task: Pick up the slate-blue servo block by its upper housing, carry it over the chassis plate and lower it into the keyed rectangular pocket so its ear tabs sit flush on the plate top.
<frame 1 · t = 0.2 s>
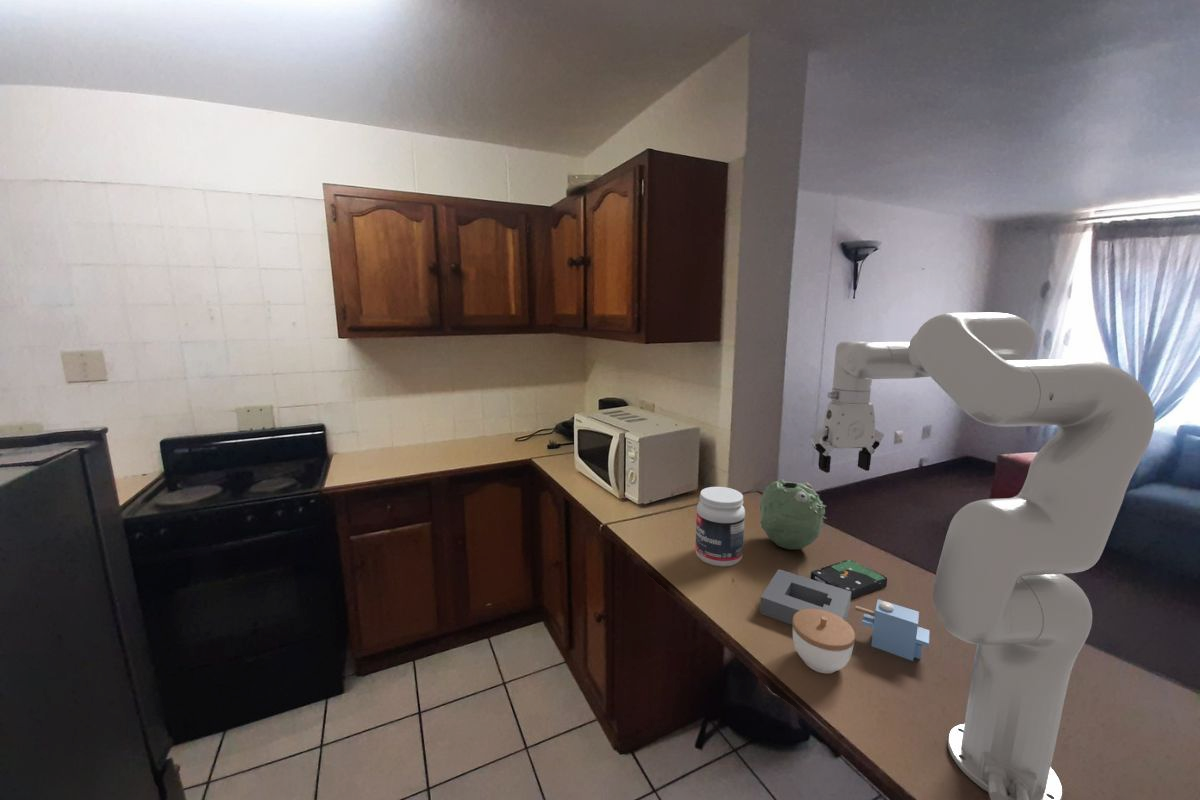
hand: (843, 469, 105), 31 cm above the worktop, tool pointing down, fingers open, 9 cm apart
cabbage: (787, 547, 132), on the worktop
disk drive: (847, 584, 114), on the worktop
servo: (892, 646, 92), on the worktop
lidded jar: (819, 662, 88), on the worktop
supplement tub: (718, 557, 127), on the worktop
chassis plate: (805, 610, 103), on the worktop
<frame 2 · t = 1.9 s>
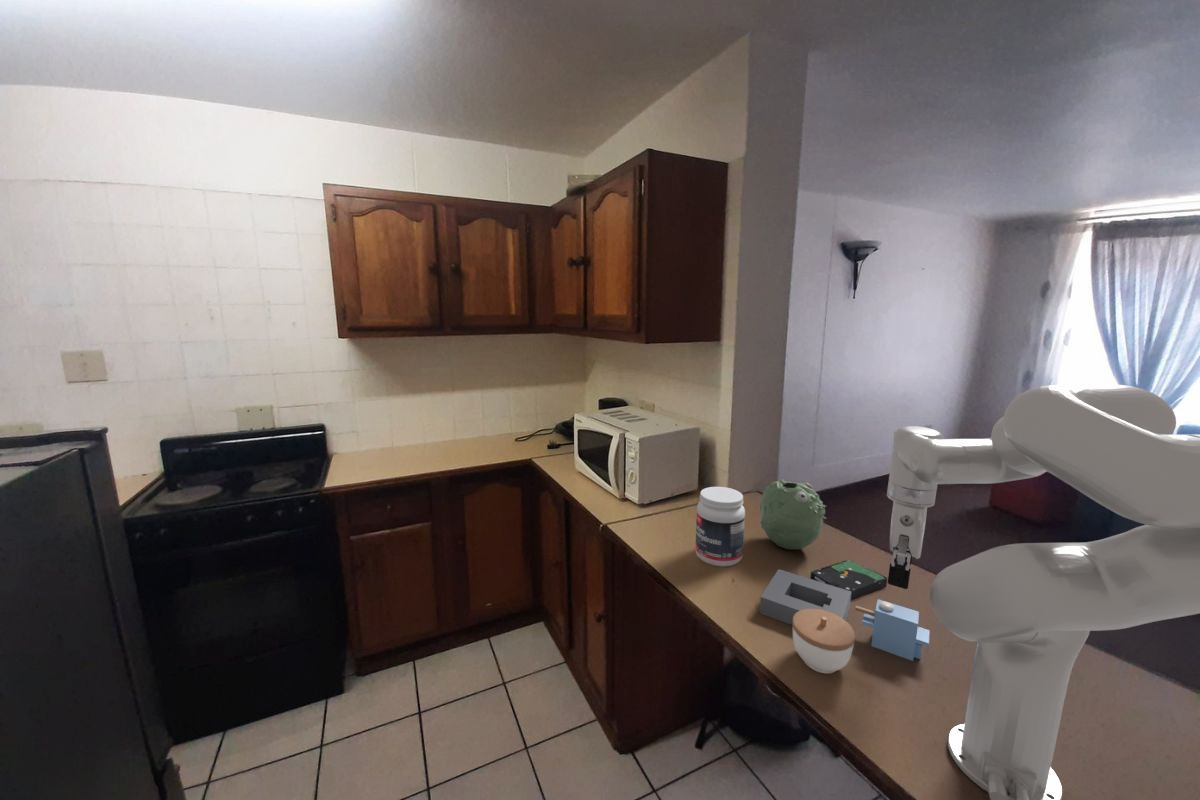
hand: (899, 573, 90), 16 cm above the worktop, tool pointing down, fingers open, 9 cm apart
nothing on the worktop moved.
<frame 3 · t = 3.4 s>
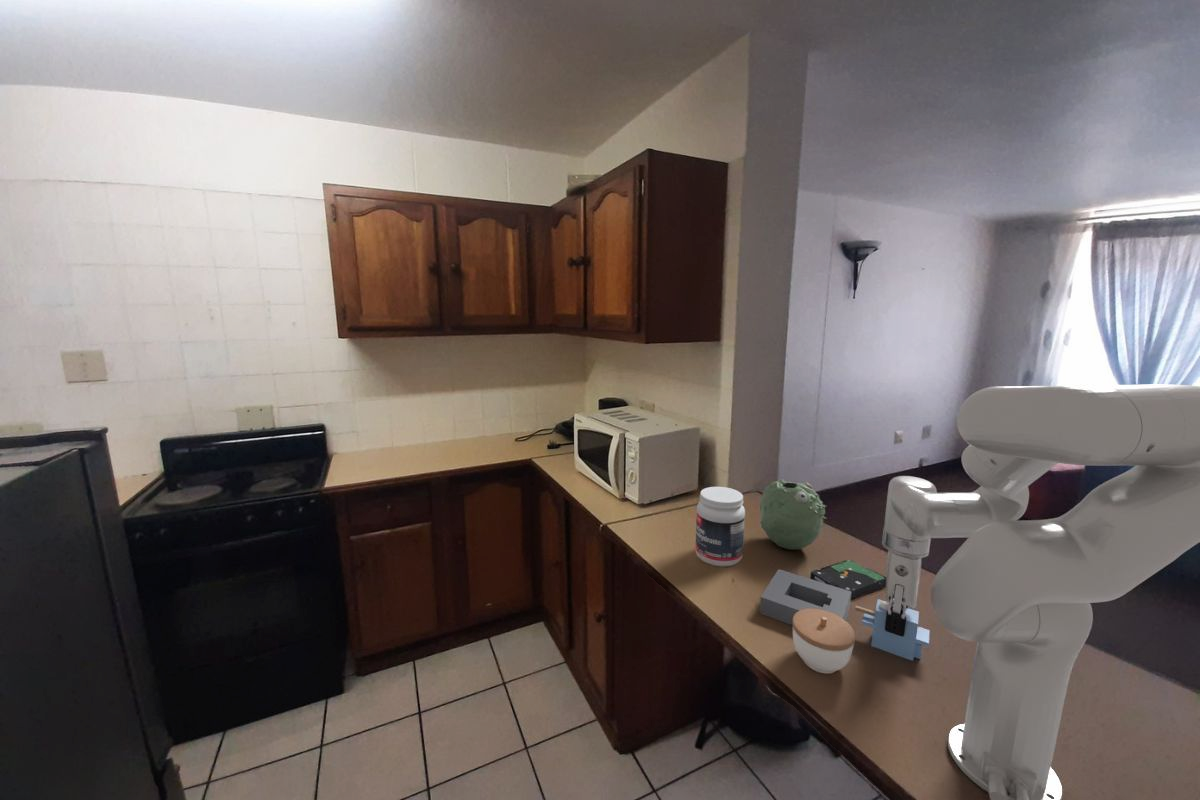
hand: (895, 625, 91), 5 cm above the worktop, tool pointing down, fingers closed on servo, 4 cm apart
servo: (892, 646, 92), on the worktop, touching gripper
everything else where it was.
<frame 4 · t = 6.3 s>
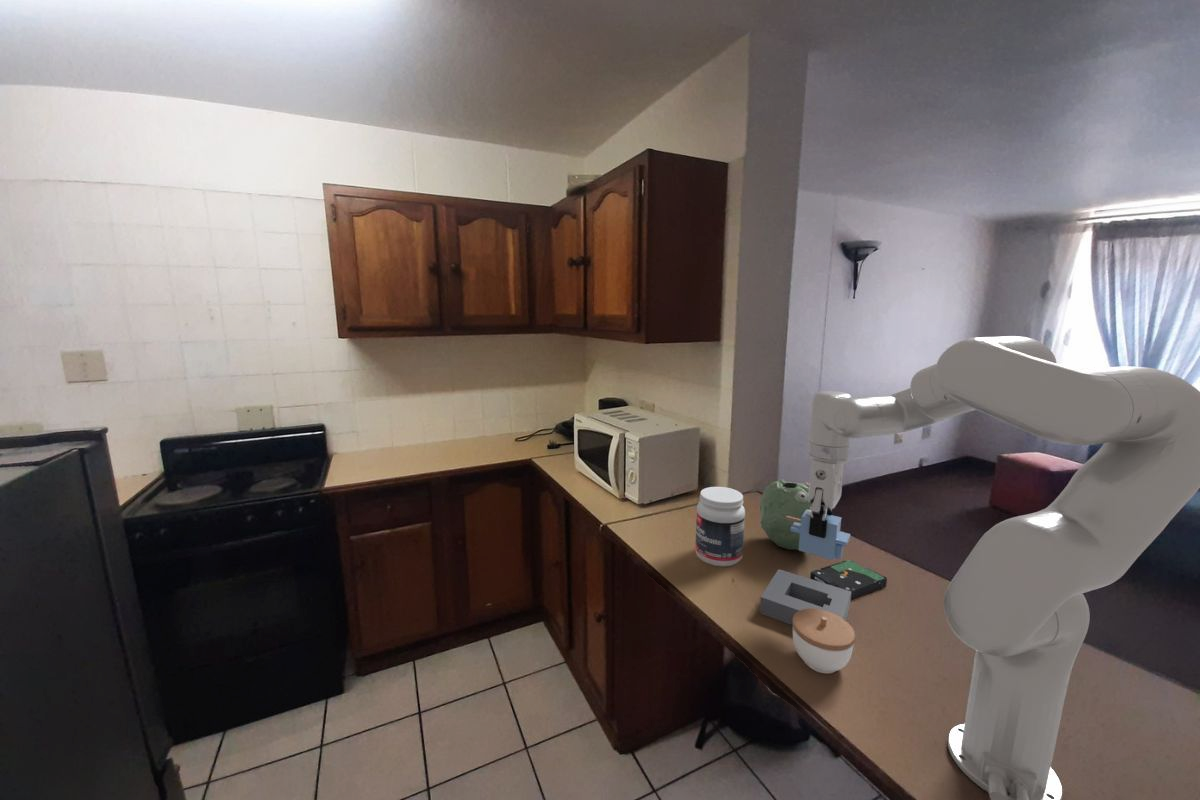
hand: (819, 530, 99), 20 cm above the worktop, tool pointing down, fingers closed on servo, 4 cm apart
servo: (818, 550, 100), point 15 cm above the worktop, touching gripper
everything else where it was.
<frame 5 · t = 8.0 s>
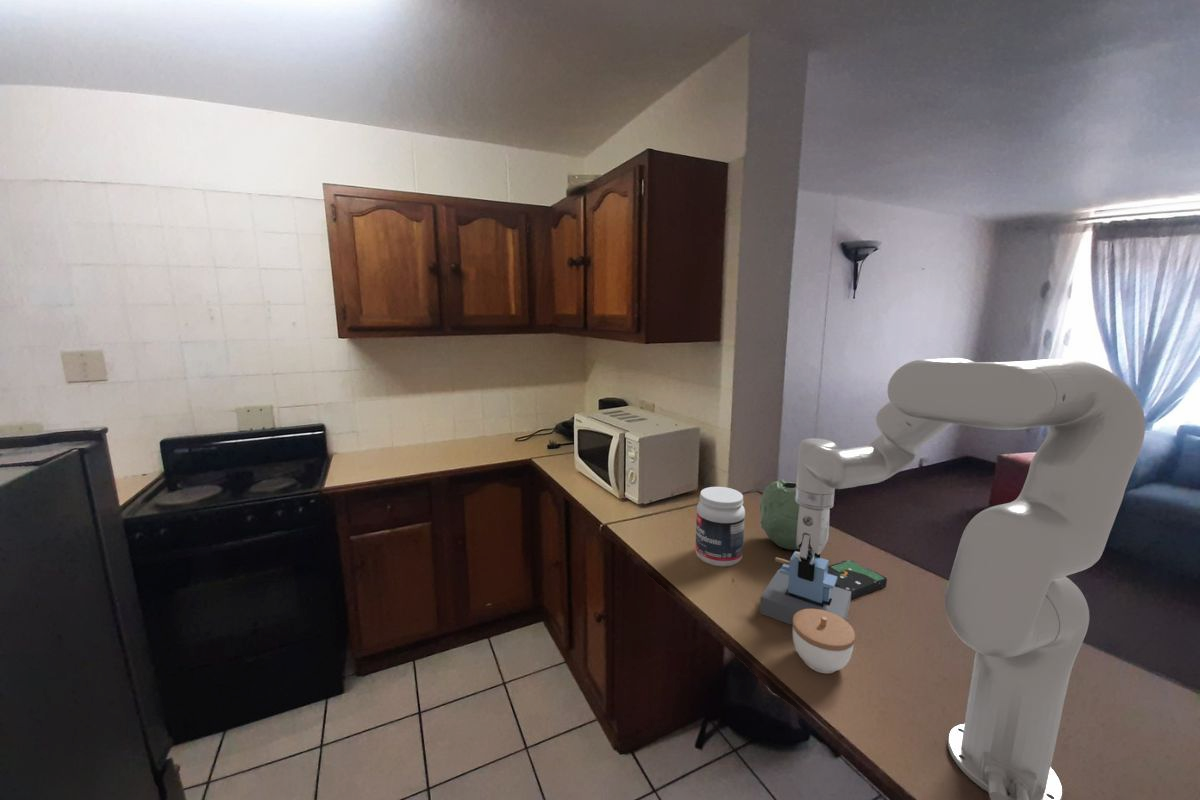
hand: (808, 572, 102), 9 cm above the worktop, tool pointing down, fingers closed on servo, 4 cm apart
servo: (806, 592, 102), point 4 cm above the worktop, touching gripper
everything else where it was.
when the fingers open (6 cm above the worktop, at t = 9.2 s): servo stays where it is, resting on chassis plate.
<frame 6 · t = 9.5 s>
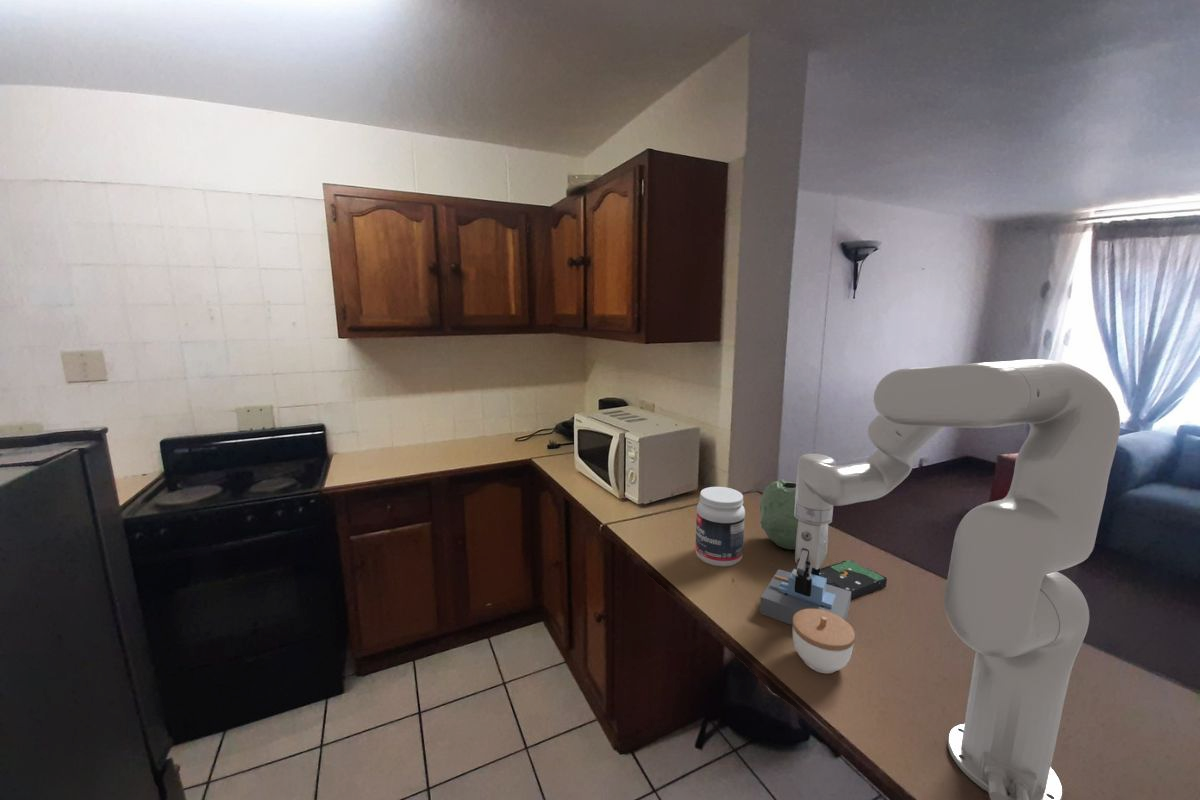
hand: (807, 584, 102), 6 cm above the worktop, tool pointing down, fingers open, 8 cm apart
servo: (805, 610, 103), resting on chassis plate
everything else where it was.
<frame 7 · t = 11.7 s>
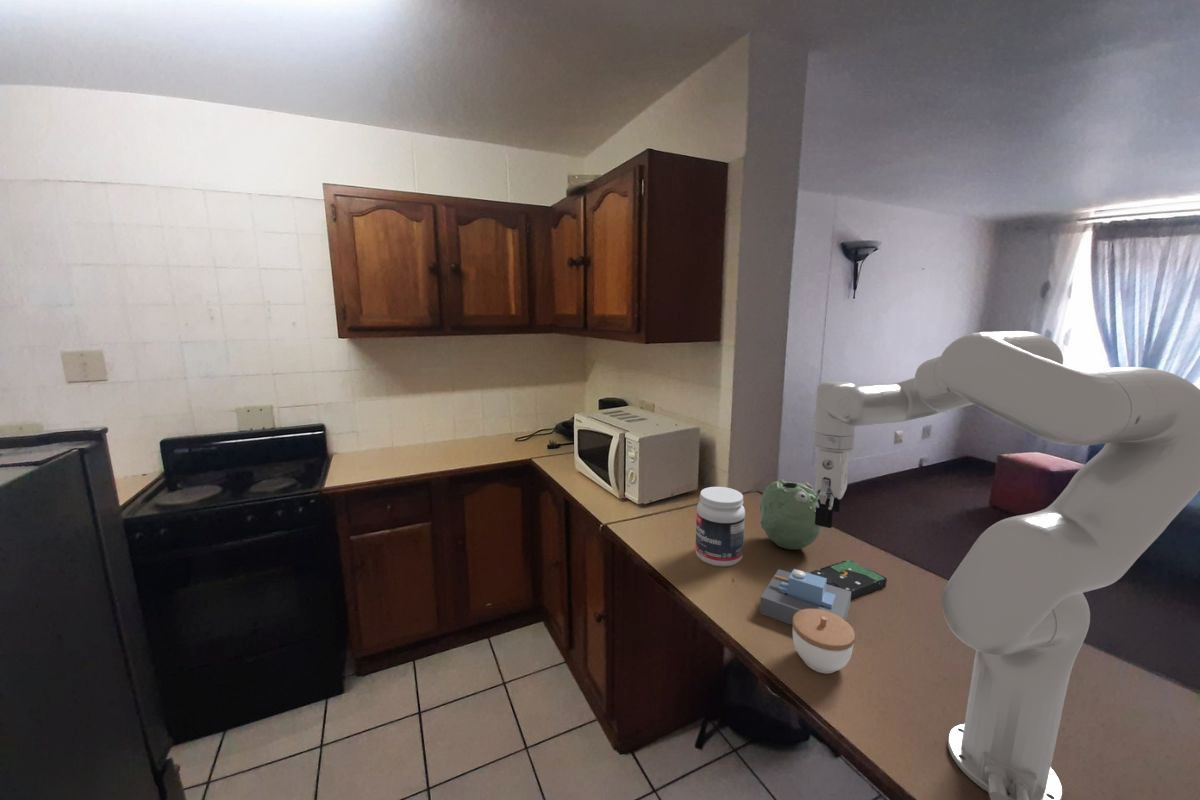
hand: (827, 517, 98), 23 cm above the worktop, tool pointing down, fingers open, 9 cm apart
nothing on the worktop moved.
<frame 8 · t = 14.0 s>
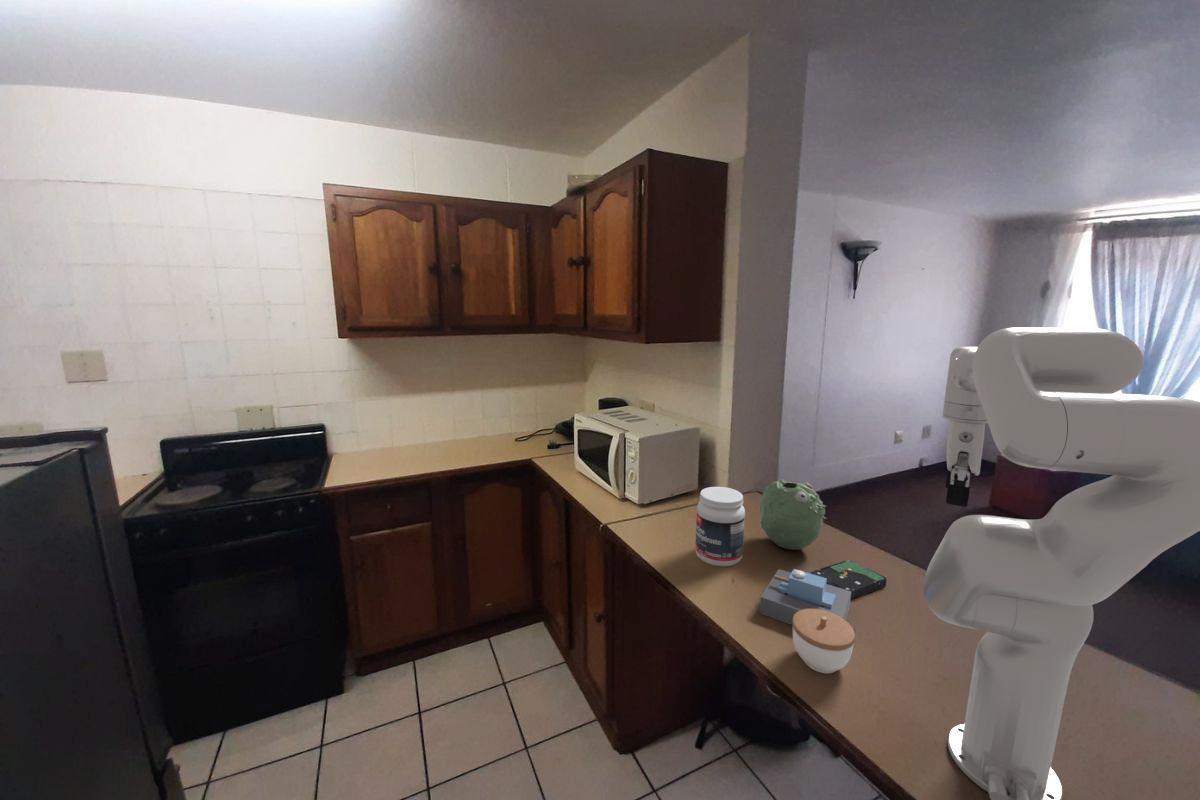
hand: (955, 496, 90), 30 cm above the worktop, tool pointing down, fingers open, 9 cm apart
nothing on the worktop moved.
at the end: servo 0.0 cm off-centre on the chassis plate, point 0.0 cm above the chassis plate's base; servo tilted 0°; the gripper is holding nothing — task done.
